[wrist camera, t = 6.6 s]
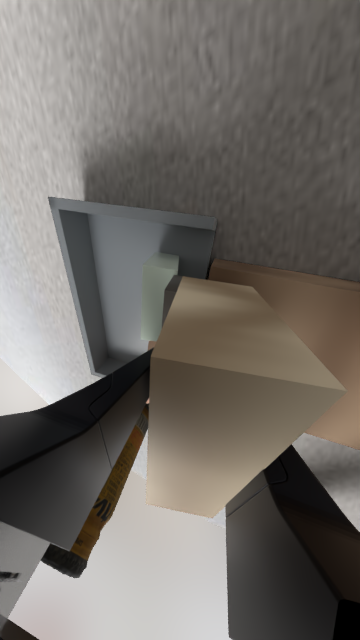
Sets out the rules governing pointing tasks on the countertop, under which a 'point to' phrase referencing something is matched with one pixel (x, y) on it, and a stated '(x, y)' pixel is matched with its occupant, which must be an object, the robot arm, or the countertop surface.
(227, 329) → the tall cream block
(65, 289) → the countertop surface
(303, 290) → the walnut board
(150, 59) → the countertop surface
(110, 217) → the tray
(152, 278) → the tile sage
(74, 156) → the countertop surface
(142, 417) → the condiment
